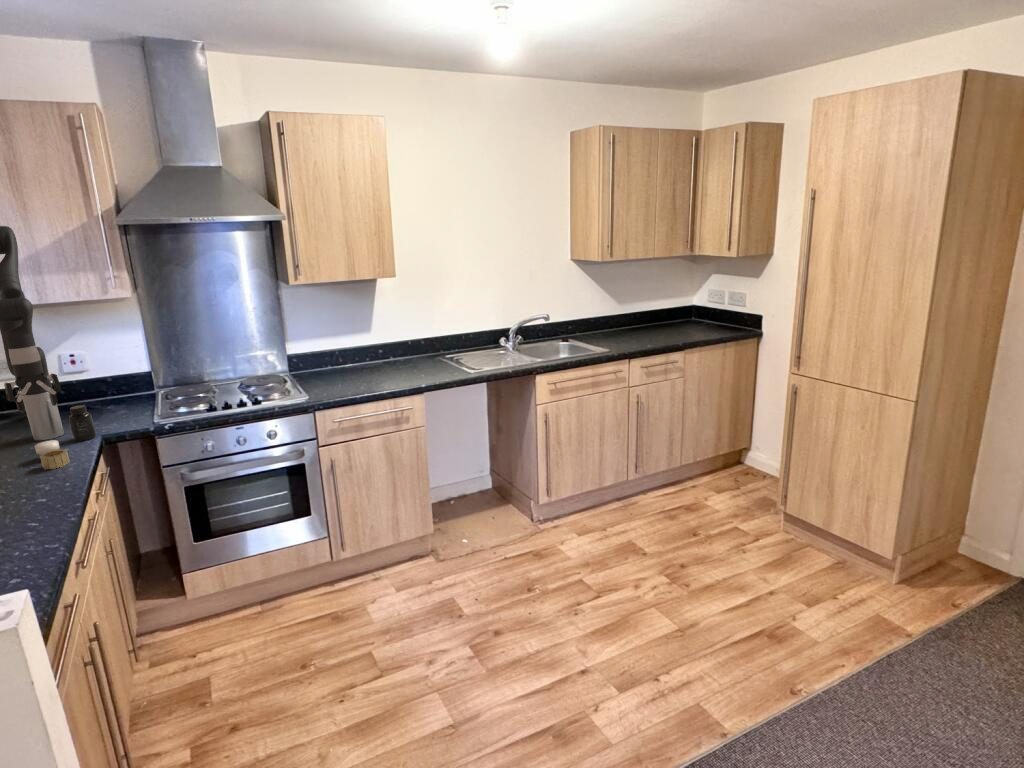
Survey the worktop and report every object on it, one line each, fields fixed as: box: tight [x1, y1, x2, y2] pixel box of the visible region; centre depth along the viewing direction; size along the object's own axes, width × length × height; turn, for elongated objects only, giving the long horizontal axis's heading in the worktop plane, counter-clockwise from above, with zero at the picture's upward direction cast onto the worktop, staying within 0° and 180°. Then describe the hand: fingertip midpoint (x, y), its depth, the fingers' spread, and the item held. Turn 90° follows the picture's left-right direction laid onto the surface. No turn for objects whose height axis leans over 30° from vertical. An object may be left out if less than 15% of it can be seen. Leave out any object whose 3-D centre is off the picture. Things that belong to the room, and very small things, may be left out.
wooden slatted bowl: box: [39, 448, 71, 470], centre depth 199 cm, size 7×7×4 cm
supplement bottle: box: [68, 404, 97, 442], centre depth 222 cm, size 7×7×12 cm
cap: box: [34, 439, 61, 456], centre depth 206 cm, size 6×6×5 cm
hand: (39, 408), depth 202 cm, fingers open, 8 cm apart
